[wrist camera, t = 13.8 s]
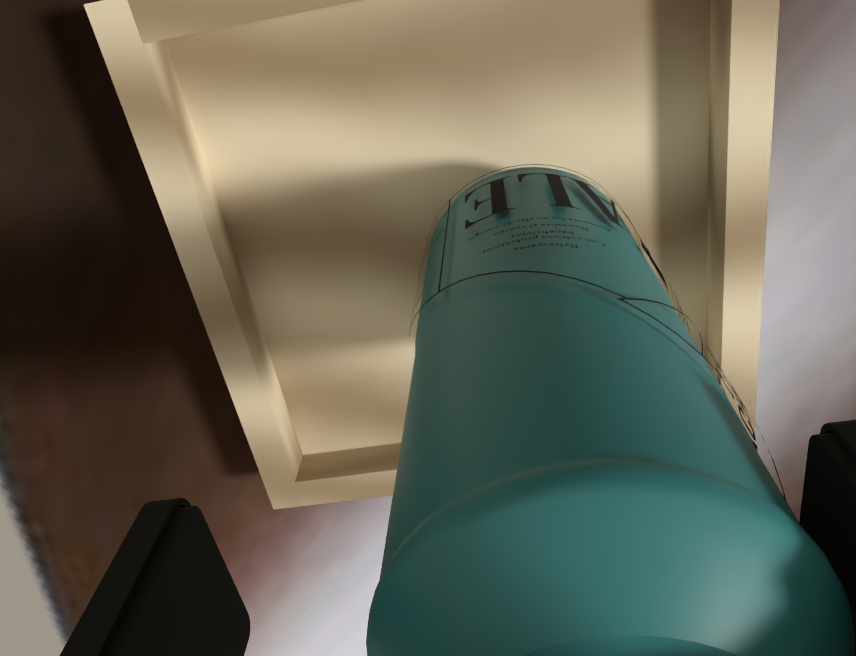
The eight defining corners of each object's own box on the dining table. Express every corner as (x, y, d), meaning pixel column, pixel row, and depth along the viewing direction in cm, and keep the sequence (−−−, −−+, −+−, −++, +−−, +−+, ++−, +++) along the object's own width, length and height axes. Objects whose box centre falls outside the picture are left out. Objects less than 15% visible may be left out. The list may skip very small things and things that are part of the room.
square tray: (122, 0, 20) (83, 4, 18) (748, -130, 18) (788, -143, 16) (286, 468, 28) (273, 509, 26) (728, 413, 27) (752, 452, 24)
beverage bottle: (475, 354, 25) (481, 1339, 7) (390, 193, 22) (59, 1136, 4) (651, 286, 23) (1237, 1355, 5) (583, 102, 20) (1310, 1040, 3)
